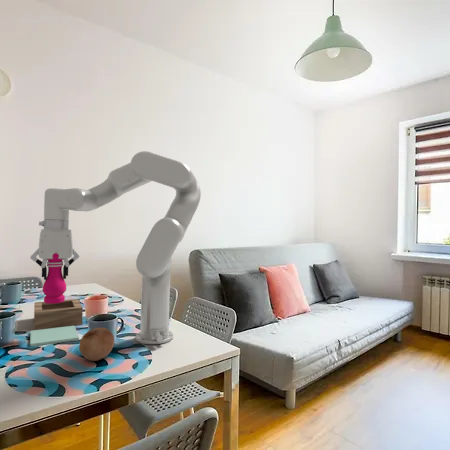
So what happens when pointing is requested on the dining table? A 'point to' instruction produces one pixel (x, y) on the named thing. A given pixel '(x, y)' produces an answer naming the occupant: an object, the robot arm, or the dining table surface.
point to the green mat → (53, 335)
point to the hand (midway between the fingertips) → (55, 278)
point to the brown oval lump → (96, 344)
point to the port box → (57, 314)
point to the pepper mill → (54, 281)
